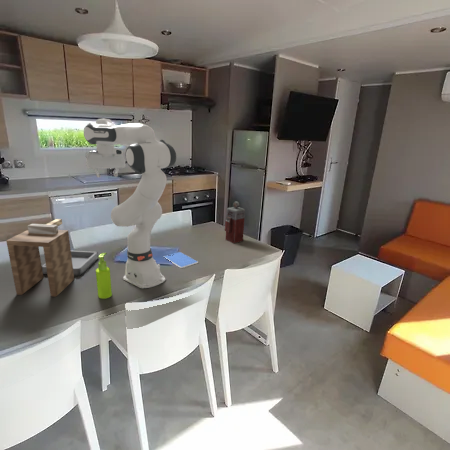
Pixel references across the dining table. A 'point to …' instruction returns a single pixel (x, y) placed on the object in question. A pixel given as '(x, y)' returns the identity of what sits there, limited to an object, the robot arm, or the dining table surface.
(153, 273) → the robot arm
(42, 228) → the scraper
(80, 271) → the tray
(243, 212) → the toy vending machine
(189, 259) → the blue notebook
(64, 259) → the walnut bench
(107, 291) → the soap dispenser
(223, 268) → the dining table surface
